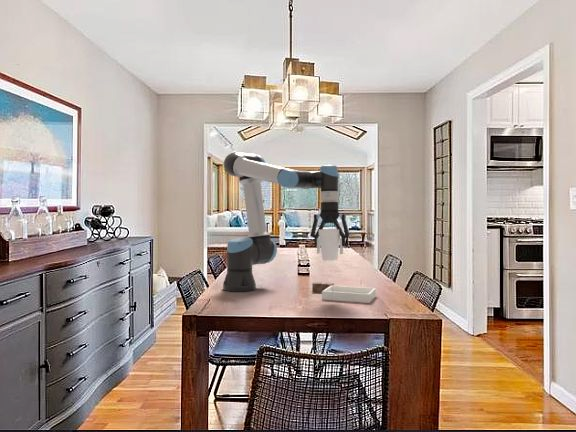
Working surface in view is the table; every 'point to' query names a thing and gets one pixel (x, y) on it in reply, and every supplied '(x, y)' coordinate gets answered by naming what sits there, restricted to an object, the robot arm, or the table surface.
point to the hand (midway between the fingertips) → (329, 253)
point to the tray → (349, 294)
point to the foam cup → (329, 243)
